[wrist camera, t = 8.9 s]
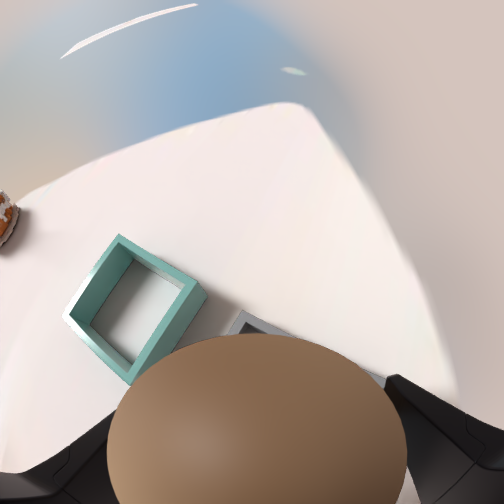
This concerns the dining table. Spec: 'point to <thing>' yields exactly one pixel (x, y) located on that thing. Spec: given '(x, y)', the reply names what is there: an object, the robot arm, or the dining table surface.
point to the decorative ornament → (7, 217)
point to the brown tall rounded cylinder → (256, 428)
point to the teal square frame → (101, 286)
